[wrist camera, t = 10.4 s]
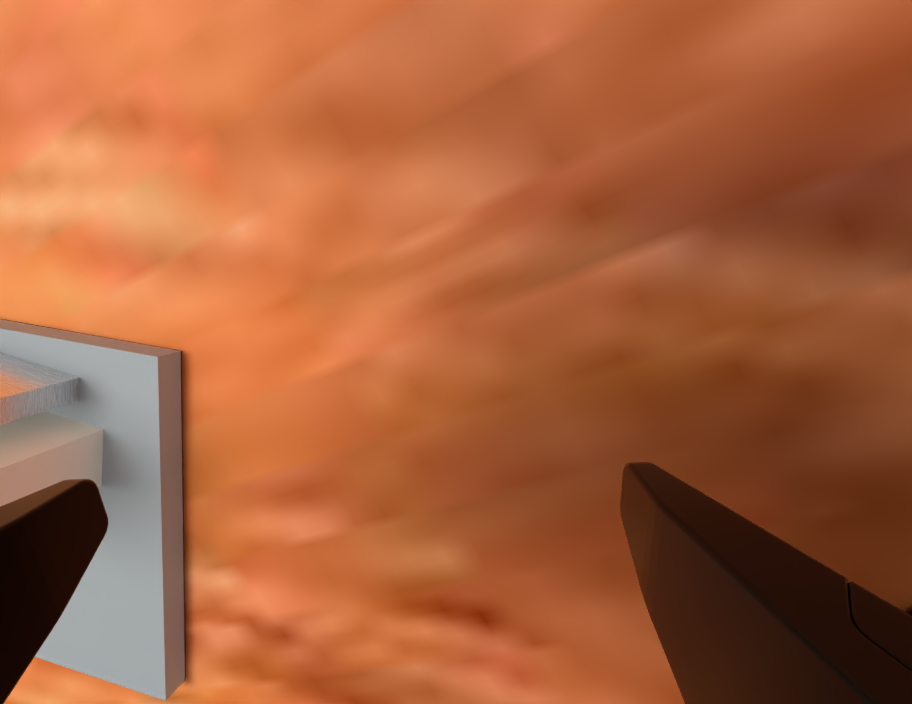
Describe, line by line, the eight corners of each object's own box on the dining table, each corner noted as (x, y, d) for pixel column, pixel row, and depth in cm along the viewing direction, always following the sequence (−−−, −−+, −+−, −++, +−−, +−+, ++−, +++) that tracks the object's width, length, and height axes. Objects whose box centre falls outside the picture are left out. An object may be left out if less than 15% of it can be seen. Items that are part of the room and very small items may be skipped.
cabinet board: (180, 351, 21) (157, 356, 20) (184, 679, 25) (165, 700, 24) (-82, 304, 24) (-116, 307, 23) (-45, 605, 28) (-72, 621, 27)
